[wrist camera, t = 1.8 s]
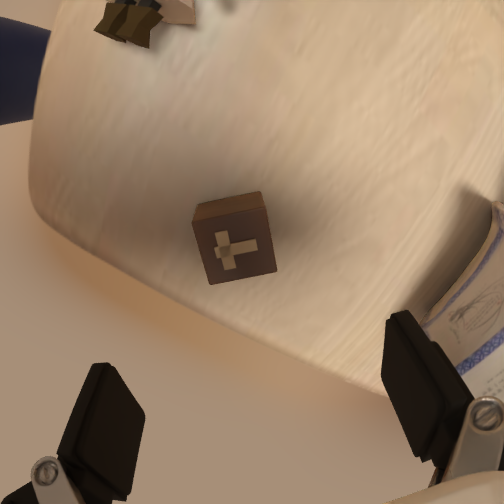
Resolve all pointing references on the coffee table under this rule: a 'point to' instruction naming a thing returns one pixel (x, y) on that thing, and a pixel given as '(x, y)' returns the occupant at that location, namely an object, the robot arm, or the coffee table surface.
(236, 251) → the brown cube
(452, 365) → the robot arm
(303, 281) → the coffee table surface
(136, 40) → the figurine
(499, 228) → the potted plant
